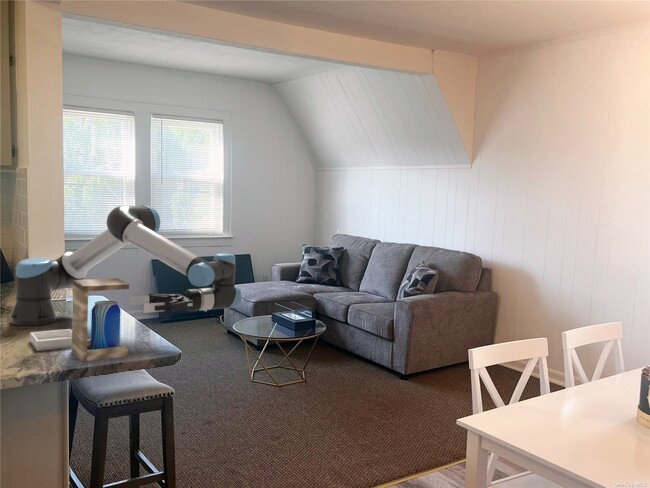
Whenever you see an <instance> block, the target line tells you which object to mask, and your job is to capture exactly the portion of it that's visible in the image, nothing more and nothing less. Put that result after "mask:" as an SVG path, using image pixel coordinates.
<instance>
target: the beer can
mask: <svg viewBox="0 0 650 488" xmlns="http://www.w3.org/2000/svg"><path fill="white" fill-rule="evenodd" d="M90 317H91V320H90V321H91V324H90V325H91V327H90V328H91V329H90V339H91V349H90V350H94V349H103V348H111V347H120V346H121V345H120V341H121V339H120V338H121V308H120V306H119V304H118V301H115V300H98V301H95V302H94V306H92V308H91V316H90Z"/></svg>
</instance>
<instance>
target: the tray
mask: <svg viewBox="0 0 650 488" xmlns="http://www.w3.org/2000/svg"><path fill="white" fill-rule="evenodd" d="M29 343H31V345H32V346H33V347H34V348H35V350H36V351H48V350H57V349H66V348H67V349H68V348H72V328H66V329H65V328H64V329H53V330H41V331H33V332H32V331H31V332H30V333H29Z"/></svg>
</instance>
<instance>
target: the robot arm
mask: <svg viewBox="0 0 650 488" xmlns="http://www.w3.org/2000/svg"><path fill="white" fill-rule="evenodd" d="M106 227H107V229H106V230H104V231H103V232H101V233H100V234H98V235H97V236H96V237H94V238H92V239H91V240H90V241H88V242H87V243H86V244H84V245H82V246H80V247H79V248H78V249H77V250H75V251H67V252H66V253H64V254H63V255H61V256H59V257H58V258H56V259H54V260H52V259H50V258H48V257H35V258H33V257H31V258H25V259H23V260H20V261H19V262H18V263H17V264H16V271H15V303H14V306H13V309H12V312H11V314H10V320H9V321H10V324H11V325H15V326H23V327H26V326H27V327H29V326H30V327H31V326H32V327H34V326H43V325H44V326H45V325H50V324H52V323H55V322H56V321H57V312H56V311H55V307H54V305H53V303H52V292H53V291H58V290H63V289H64V290H65V289H71V288H72V289H73V280H86V279H85V278H86V276H87V275H88V271H89V270H90V269H91V268H93V267H95V266H96V265H97V264H99V263H101V262H102V261H104V260H105V259H106V258H108V257H109V256H111V255H113V254H114V253H116V252H118V251H119V250H120V249H122V248H123V247H124V246H126V245H129V246H134V247H136V248H138V249H140V250H142V251H143V252H145V253H146V254H148V255H150V256H151V257H153V258H155V259H157V260H159V261H160V262H162V263H164V264H166V265H167V266H168V267H170V268H172V269H174V270H176V271H177V272H179V273H181V274H182V275H184V276H187V278H188V281H189V283H190V284H191V285H192V286H194V287H198V289H197V288H191V289H186V290H185V292H184V294H183V295H182V294H178V293H171V294H170V293H169V294H168V293H148V294H147V295H135V296H134V295H133V296H129V297H128V302H129V303H128V305H129V306H135V305H142V306H143V308H142V310H143V311H142V312H143V313H144V314H146V313H147V314H148V313H159V312H161V313H162V312H168V313H174V312H178V311H183V310H186V311H187V312H198V311H203V312H207V311H209V310H218V309H219V310H221V309H231V308H236V307H237V308H238V306H240V304H241V302H242V298H243V297H242V291H241V289H240V288H239V286H236V285H235V283H236V282H235V280H236V266H237V264H236V256H235V255H234V254H232V253H216V254H214V255H213V261H207V260H205V259H204V258H202V257H200V256H198V255H196V254H195V253H193V252H191V251H190V250H187V249H186V248H184V247H183V246H181V245H179V244H177V243H175V242H173V241H172V240H170V239H168V238H167V237H165V236H163V235H161V234H160V233H159V230H160V228H161V218H160V215H159V213H158V211H157V210H156V209H155V208H154V207H152V206H149V205H143V204H142V205H119V206H117V207H115V208H113V209H112V210H111V211H110V212H109V213H108V215H107V217H106ZM210 285H213V286H212V287H207V286H210ZM199 287H203V288H199Z"/></svg>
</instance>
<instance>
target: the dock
mask: <svg viewBox="0 0 650 488" xmlns="http://www.w3.org/2000/svg"><path fill="white" fill-rule="evenodd" d="M129 289H130V284H129V283H128V282H125V281H124V280H121V279H120V278H119V277H117V278H115V277H113V278H97V279H96V278H94V279H93V278H92V279H90V278H89V279H84V280H73V287H72V304H71V305H72V312H71V313H72V314H71V316H72V318H71V330H72V347H71V352H72V353H73V354H74V355H75V356H76V357H77V359H79V361H81V362H89V361H90V362H91V361H97V360H107V359H115V358H121V357H128V356H129V346H128V345H120V347H111V348H103V349H94V350H91V338H89V339H88V318H89V317H88V316H89V315H88V314H89V313H88V312H89V311H88V310H89V292H98V291H99V292H100V291H116V290H129Z"/></svg>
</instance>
